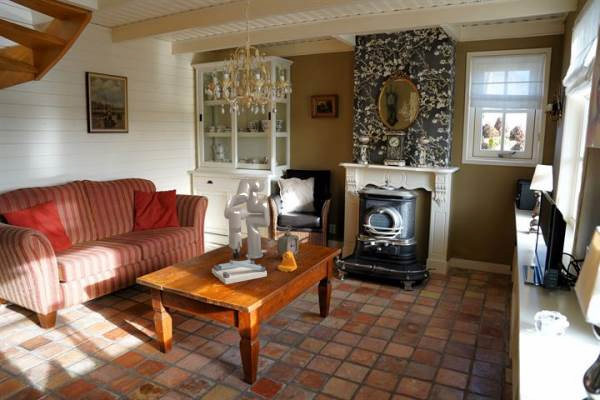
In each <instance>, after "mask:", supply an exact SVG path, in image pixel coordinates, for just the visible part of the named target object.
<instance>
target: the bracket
mask: <svg viewBox="0 0 600 400" xmlns="http://www.w3.org/2000/svg"><path fill="white" fill-rule="evenodd" d="M297 266H298V265H297V262H296V258H295V256H293V253H292V252H290V251H288V252H286V253H284V254H283V256H282V261H281V264H279V265H278V266H277V270H279V271H281V272H286V273H289V272H293V271H295V270H296V269H297V268H298V267H297Z"/></svg>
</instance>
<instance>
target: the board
mask: <svg viewBox="0 0 600 400" xmlns="http://www.w3.org/2000/svg"><path fill="white" fill-rule="evenodd" d="M246 260H250V261H251V264H253V265H256V264H255V260H251V258H247V257H246ZM257 265H258V266H261V267H262V271H260V270H255V269H250V268H245V267H234V268H228V269H222V270H221V269H220V267H218V264H217V265H216V264H215V265H213V268H211V274H212V273H213V274H214V275H213V274H212V275H213V276H214V277H216V278H217V277H218V278H219V279H218V278H217V279H218V280H220V281H221V282H222V283H223V284H225V285H229V284H234V283H238V282H245V281H248V280H253V279H254V280H255V279H260V278H264V277H267V276H268V273H267V270H266V266H262V265H261V263H260V264H257Z"/></svg>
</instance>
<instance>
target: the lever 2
mask: <svg viewBox="0 0 600 400" xmlns="http://www.w3.org/2000/svg"><path fill="white" fill-rule="evenodd" d="M228 263H230V264H232V265H235V266H240V267H245V268H250V269H255V270H260V271H262V267H263V266H262V265H261V266H258V264H255V265H253V264H248V263H243V262H238V261H237V260H232V259H230V260H229V262H228Z"/></svg>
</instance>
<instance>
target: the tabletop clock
mask: <svg viewBox="0 0 600 400" xmlns="http://www.w3.org/2000/svg"><path fill="white" fill-rule="evenodd" d="M288 227H290V229H288ZM286 229H287V230H286ZM291 230H292V226H291V225H290V224H287V225H286V226H285V227H284V231H285V232H284V234H283V235H281V236H278V238H277V243H276V244H277V245H276V246H277V253H278V255H279V256H282V257H283V254H284V253H286V252H288V251H290V252H292V253H293V256H294V259H297V258H298V257H297V256H296V255H298V253H299V250H300V240H299V238H300V237H299V236H298V235H296V234H292V232H291Z"/></svg>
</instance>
